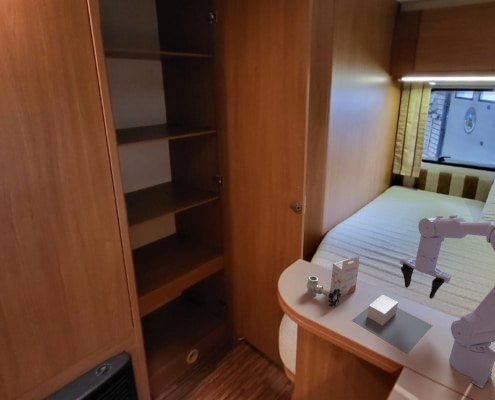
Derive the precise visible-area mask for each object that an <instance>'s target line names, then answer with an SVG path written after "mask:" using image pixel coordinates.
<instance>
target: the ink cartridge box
mask: <svg viewBox="0 0 495 400" xmlns="http://www.w3.org/2000/svg"><path fill="white" fill-rule="evenodd" d="M359 266H360V256H355V257H352V258H349V257H348V258H346V259H343V260H340V261H337V262H333V263H332V267H331V268H332V269H331V277H330V278H331V281H330V289H329V291H330V293H333V292H334V290H335V289H336V290H337V289H340V290H341V291H340V293H341V296H340V297H344V296H345V295H347V294H351V293H352V292H355V291H356V289H357V288H356V287H357V281H358V273H359ZM336 296H337V294H336Z"/></svg>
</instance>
